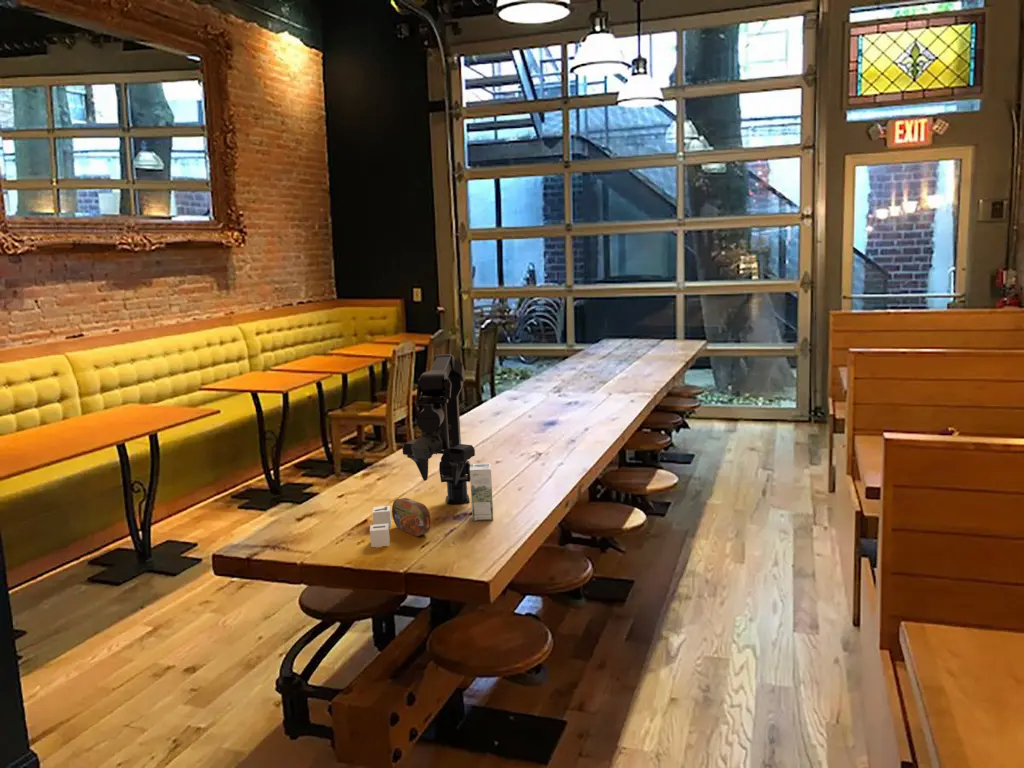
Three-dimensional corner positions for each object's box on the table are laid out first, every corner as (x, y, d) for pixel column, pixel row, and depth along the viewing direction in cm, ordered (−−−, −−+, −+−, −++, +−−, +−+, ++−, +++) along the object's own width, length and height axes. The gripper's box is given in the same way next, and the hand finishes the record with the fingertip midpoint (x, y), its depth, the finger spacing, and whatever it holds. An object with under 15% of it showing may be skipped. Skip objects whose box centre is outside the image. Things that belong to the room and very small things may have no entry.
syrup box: (493, 513, 227) (490, 462, 225) (493, 520, 221) (490, 468, 219) (472, 514, 227) (469, 463, 224) (472, 521, 221) (469, 469, 219)
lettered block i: (372, 541, 211) (370, 524, 210) (389, 540, 211) (388, 522, 210) (371, 548, 206) (369, 530, 205) (389, 546, 207) (387, 528, 206)
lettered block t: (374, 522, 224) (373, 506, 224) (391, 521, 225) (390, 505, 224) (373, 528, 220) (372, 511, 219) (390, 527, 220) (389, 510, 220)
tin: (392, 526, 221) (389, 495, 220) (402, 523, 223) (399, 493, 222) (423, 540, 210) (421, 508, 208) (433, 537, 212) (431, 505, 210)
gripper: (386, 427, 206) (391, 487, 209) (449, 433, 197) (453, 496, 200) (413, 417, 215) (417, 475, 218) (474, 422, 206) (477, 483, 209)
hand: (440, 482), depth 211 cm, fingers open, 9 cm apart
